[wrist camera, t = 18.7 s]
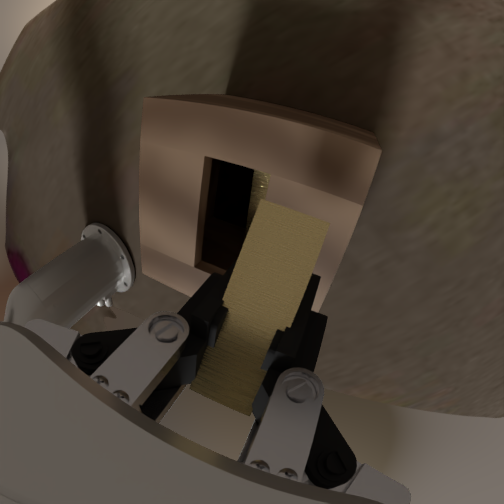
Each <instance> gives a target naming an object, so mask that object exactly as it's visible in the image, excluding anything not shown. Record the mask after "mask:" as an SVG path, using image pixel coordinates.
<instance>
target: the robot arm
mask: <svg viewBox="0 0 504 504" xmlns="http://www.w3.org/2000/svg"><path fill="white" fill-rule="evenodd" d="M238 257H239V256H238ZM238 257H237V259H236V260H235V261H234V262H233V264H232V265H231V266H230V267H229V269H228V270H227V271H226V272H225V273H224V275H221V274H219V273H216V272H214V273H212V274H211V275H210V276H209V277H208V279H207V280H206V281H205V282H204V283H203V284H202V285H201V287H200V288H199V289H198V290H197V291H196V292H195V293H194V295H193V296H192V297H191V298H190V299H189V300H188V302H187V303H186V304H185V305H184V306H183V307H182V308H181V310H180V311H179V312H178V313H177V314H176V313H174V312H168V311H163V312H158V313H155V314H153V315H151V316H150V317H148V318H147V319H146V320H145V321H144V322H143V324H141V325H140V326H139V327H138V328H132V329H123V330H114V331H105V332H95V333H88V334H84V335H83V336H82V335H80V334H79V332H78V331H75V330H72V329H69V328H70V327H72V326H73V325H74V324H75V323H76V322H77V321H78V320H79V319H80V318H82V317H83V316H84V315H85V314H86V313H87V312H88V311H89V310H90V309H92V308H93V307H94V306H95V305H96V304H97V305H98V306H103V305H105V304H106V306H108V307H110V306H112V305H113V302H112V298H111V296H112V295H113V294H114V293H115V292H116V291H117V292H125V291H127V290H128V289H129V288H130V287H131V286H132V285H133V283H134V279H135V272H134V266H133V262H132V259H131V257H130V254H129V252H128V250H127V248H126V247H125V245H124V244H123V242H122V241H121V240H120V238H119V237H118V236H117V235H116V234H115V233H114V232H113V231H112V230H111V229H110V228H108V227H107V226H105V225H103V224H100V223H92V224H90V225H88V226H87V227H85V229H84V230H83V232H82V237H81V241H80V242H79V243H77V244H76V245H74V246H72V247H71V248H69V249H68V250H66V251H65V252H63V253H62V254H60V255H59V256H57V257H56V258H55V259H53V260H52V261H50V262H49V263H47V264H46V265H45V266H43V267H42V268H40V269H39V270H38V271H36V272H35V273H33V274H32V275H31V276H29V277H28V278H27V279H25V280H24V281H23V282H21V283H20V284H19V285H17V286H16V287H15V288H14V289H13V291H12V292H11V294H10V296H9V298H8V301H7V305H6V311H5V318H4V322H0V504H410V501H411V494H410V492H409V489H408V488H406V487H405V486H404V485H402V484H400V483H399V482H397V481H395V480H393V479H391V478H390V477H388V476H386V475H384V474H383V473H381V472H379V471H378V470H376V469H374V468H372V467H371V466H369V465H367V464H366V463H364V464H361V463H359V462H357V460H356V457H355V455H354V453H353V451H352V450H351V449H350V447H349V445H348V444H347V442H346V441H345V439H344V438H343V436H342V435H341V433H340V431H339V430H338V428H337V427H336V425H335V424H334V422H333V421H332V419H331V417H330V416H329V414H328V413H327V411H326V410H325V408H324V407H323V405H322V401H323V396H324V387H323V384H322V381H321V380H320V378H319V377H318V376H317V375H316V374H314V373H313V372H314V369H315V365H316V362H317V358H318V354H319V351H320V347H321V343H322V339H323V335H324V331H325V327H326V323H327V318H328V317H327V316H325V315H323V314H320V313H317V312H315V311H312V310H311V309H312V306H313V302H314V299H315V296H316V292H317V289H318V286H319V282H320V279H321V276H318V275H316V274H313V273H312V275H311V277H310V280H309V282H308V285H307V288H306V290H305V293H304V295H303V298H302V300H301V303H300V305H299V308H298V310H297V313H296V315H295V317H294V320H293V322H292V325H291V327H290V328H289V327H287V326H286V329H285V331H282V330H279V329H277V331H276V333H275V335H274V338H273V340H272V342H271V344H270V347H269V349H268V351H267V354H266V356H265V359H264V361H263V364H262V366H261V368H260V369H263V370H265V371H267V373H266V375H265V377H264V379H263V381H262V384H261V386H260V388H259V390H258V392H257V394H256V397H255V399H254V401H253V403H252V408H253V411H252V412H253V414H254V416H255V418H256V419H255V421H254V423H253V426H252V428H251V430H250V433H249V435H248V438H247V440H246V442H245V445H244V447H243V449H242V452H241V454H240V456H239V459H238V461H235V460H232V459H230V458H228V457H225V456H223V455H220V454H218V453H216V452H214V451H212V450H210V449H207V448H205V447H203V446H201V445H199V444H197V443H195V442H193V441H191V440H188V439H187V438H185V437H183V436H181V435H179V434H177V433H175V432H173V431H172V430H170V429H168V428H166V427H164V426H162V425H161V424H159V423H160V422H161V420H162V419H163V417H164V416H165V415H166V413H167V412H168V410H169V409H170V408H171V406H172V405H173V404H174V402H175V401H176V400H177V398H178V397H179V396H180V394H181V393H182V391H183V390H184V389H185V387H186V385H187V384H191V383H192V381H193V380H194V379H195V378H196V375H197V372H198V370H199V367H200V364H201V361H202V359H203V356H204V353H205V351H206V348H207V346H210V347H212V348H214V346H215V343H216V341H217V338H218V335H219V333H220V330H221V327H222V325H223V322H224V320H225V317H226V314H227V312H228V309H229V308H226V307H224V306H222V305H223V302H224V300H222V299H223V297H224V294H225V291H226V289H227V286H228V283H229V281H230V278H231V275H232V273H233V270H234V268H235V265H236V262H237V260H238Z"/></svg>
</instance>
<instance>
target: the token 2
mask: <svg viewBox="0 0 504 504" xmlns="http://www.w3.org/2000/svg"><path fill="white" fill-rule="evenodd" d="M329 225H330V223H329V222H326V221H323V220H320V219H318V218H315V217H312V216H309V215H307V214H304V213H301V212H298V211H295V210H293V209H290V208H287V207H284V206H281V205H278V204H275V203H272V202H269V201H266V200H263V199H261V200H260V203H259V205H258V208H257V210H256V213H255V215H254V218H253V221H252V223H251V226H250V228H249V231H248V234H247V236H246V239H245V241H244V244H243V247H242V249H241V252H240V254H239V257H238V260H237V262H236V265H235V268H234V270H233V273H232V275H231V278H230V281H229V283H228V286H227V289H226V291H225V294H224V297H223V299H222V300H224V302H223V305H222V306H224V307H226V308H229V309H228V312H227V314H226V317H225V320H224V322H223V325H222V327H221V330H220V333H219V335H218V338H217V341H216V343H215V346H214V348H212V347H210V346H207V348H206V351H205V353H204V356H203V359H202V361H201V364H200V367H199V370H198V372H197V375H196V378H195V379H194V380H193V381H192V383H191V385H190V389H191V390H193V391H195V392H197V393H199V394H201V395H203V396H205V397H207V398H209V399H212V400H214V401H216V402H218V403H220V404H222V405H224V406H227V407H229V408H231V409H233V410H236V411H238V412H241V413H243V414H245V415H248V416H250V415H251V412H252V411H253V408H252V403H253V401H254V399H255V397H256V394H257V392H258V390H259V388H260V386H261V384H262V381H263V379H264V377H265V375H266V373H267V371H265V370H263V369H260V368H261V366H262V364H263V361H264V359H265V356H266V354H267V351H268V349H269V347H270V344H271V342H272V340H273V338H274V335H275V333H276V331H277V329H279V330H282V331H285V329H286V326H287V327H289V328H290V327H291V325H292V322H293V320H294V317H295V315H296V313H297V310H298V308H299V305H300V303H301V300H302V298H303V295H304V293H305V290H306V288H307V285H308V282H309V280H310V277H311V275H312V272H313V269H314V267H315V264H316V261H317V259H318V256H319V253H320V250H321V248H322V245H323V242H324V239H325V237H326V234H327V231H328V228H329Z"/></svg>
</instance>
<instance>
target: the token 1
mask: <svg viewBox="0 0 504 504" xmlns="http://www.w3.org/2000/svg"><path fill="white" fill-rule="evenodd" d="M270 176H271V174H268V173H265V172H262V171H258V170H255V169H254V176H253V182H252V189H251V196H250V203H249V209H248V216H247V223H246V230H245V234H248V231H249V228H250V226H251V223H252V221H253V218H254V215H255V213H256V210H257V208H258V205H259V203H260V200H261V199H263V200H265V199H266V194H267V190H268V185H269V180H270Z"/></svg>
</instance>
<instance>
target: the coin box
mask: <svg viewBox="0 0 504 504" xmlns="http://www.w3.org/2000/svg"><path fill="white" fill-rule="evenodd" d="M381 152H382V150H381V147H380V145H379V143H378V141H377V138H376V136H375V134H374V133H373V132H370V131H368V130H365V129H362V128H359V127H356V126H353V125H350V124H347V123H344V122H341V121H338V120H335V119H331V118H328V117H325V116H321V115H318V114H314V113H310V112H307V111H303V110H299V109H295V108H291V107H287V106H282V105H278V104H274V103H269V102H264V101H259V100H254V99H249V98H243V97H237V96H231V95H225V94H191V95H168V96H154V97H144V101H143V112H142V124H141V140H140V163H139V221H140V245H141V261H142V273H143V274H145V275H147V276H149V277H151V278H153V279H155V280H157V281H159V282H161V283H163V284H165V285H167V286H169V287H171V288H173V289H175V290H177V291H180V292H182V293H184V294H186V295H188V296H190V297H192V296H193V295H194V293H195V292H196V291H197V290H198V289H199V288H200V287H201V285H202V284H203V283H204V282H205V281H206V280H207V279H208V277H209V276H210V275H211V274H212V273H214V272H216V273H219V274H221V275H224V273H225V272H226V271H227V270H228V269H229V267H230V266H231V265H232V264H233V262H234V261H235V260H236V259H237V257H238V256H239V254H240V252H241V249H242V247H243V244H244V241H245V239H246V236H247V234H245V230H246V229H245V228H242V227H239V226H237V225H234V224H231V223H228V222H225V221H222V220H220V219H217V218H214V217H213V215H214V207H215V199H216V192H217V185H218V177H219V170H220V163H221V160H223V161H226V162H230V163H234V164H237V165H241V166H244V167H248V168H251V169H255V170H258V171H262V172H265V173H268V174H271V176H270V180H269V185H268V190H267V194H266V199H265V200H266V201H269V202H272V203H275V204H278V205H281V206H284V207H287V208H290V209H293V210H295V211H298V212H301V213H304V214H307V215H309V216H312V217H315V218H318V219H320V220H323V221H326V222H329V223H330V225H329V228H328V231H327V234H326V237H325V239H324V242H323V245H322V248H321V250H320V253H319V256H318V259H317V261H316V264H315V267H314V269H313V272H312V273H313V274H316V275H318V276H321V279H320V282H319V286H318V289H317V292H316V296H315V299H314V302H313V306H312V309H311V310H312V311H315V312H317V313H318V312H319V309H320V307H321V305H322V303H323V301H324V299H325V297H326V294H327V292H328V290H329V288H330V286H331V283H332V281H333V279H334V277H335V274H336V272H337V270H338V267H339V265H340V263H341V260H342V258H343V256H344V253H345V251H346V248H347V246H348V244H349V241H350V239H351V236H352V234H353V231H354V229H355V226H356V223H357V221H358V218H359V216H360V213H361V210H362V208H363V205H364V202H365V199H366V197H367V194H368V191H369V188H370V185H371V182H372V180H373V177H374V174H375V171H376V168H377V165H378V162H379V158H380V155H381Z"/></svg>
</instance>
